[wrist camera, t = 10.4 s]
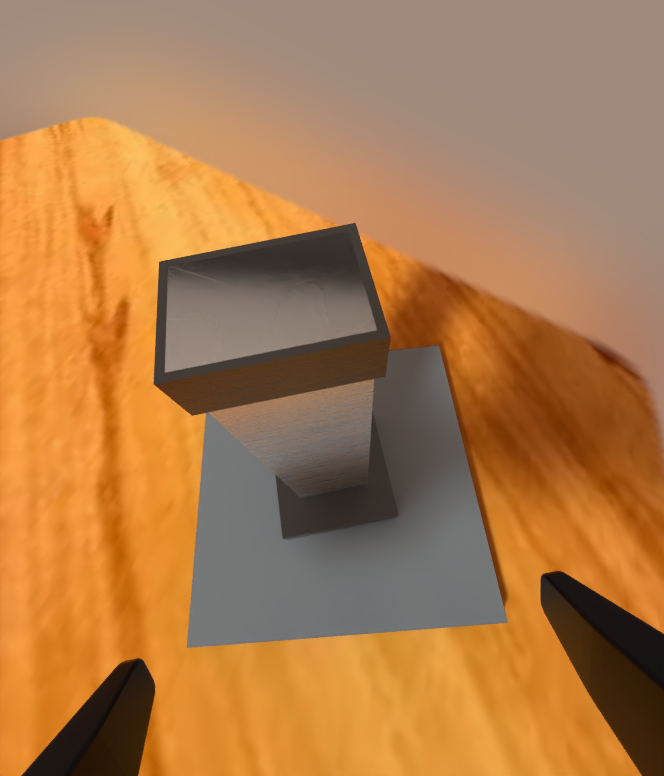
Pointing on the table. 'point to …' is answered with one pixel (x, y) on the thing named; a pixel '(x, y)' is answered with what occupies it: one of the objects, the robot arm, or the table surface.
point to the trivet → (348, 533)
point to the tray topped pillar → (285, 367)
